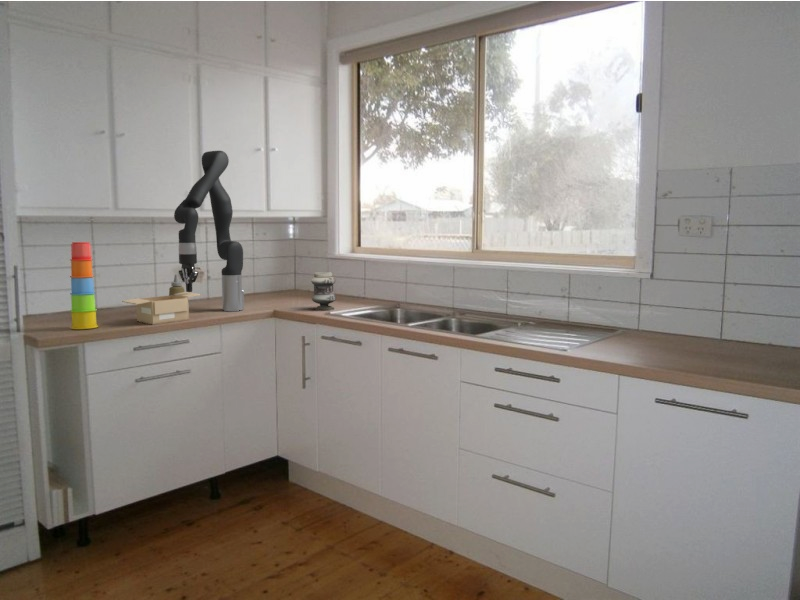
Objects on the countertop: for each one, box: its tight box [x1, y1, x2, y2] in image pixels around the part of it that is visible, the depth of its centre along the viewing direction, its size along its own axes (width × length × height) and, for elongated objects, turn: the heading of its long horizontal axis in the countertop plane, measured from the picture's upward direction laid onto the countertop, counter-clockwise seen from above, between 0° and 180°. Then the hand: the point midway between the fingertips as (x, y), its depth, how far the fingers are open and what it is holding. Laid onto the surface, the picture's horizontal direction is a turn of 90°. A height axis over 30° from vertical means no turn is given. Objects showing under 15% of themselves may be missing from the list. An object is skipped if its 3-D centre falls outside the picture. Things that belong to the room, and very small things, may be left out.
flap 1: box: [121, 298, 150, 305], centre depth 267 cm, size 1×12×6 cm
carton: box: [135, 295, 190, 326], centre depth 276 cm, size 17×15×10 cm
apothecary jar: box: [310, 271, 337, 311], centre depth 312 cm, size 12×12×18 cm
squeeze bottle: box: [168, 274, 186, 297], centre depth 299 cm, size 8×8×18 cm
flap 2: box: [174, 291, 201, 299], centre depth 284 cm, size 1×12×6 cm
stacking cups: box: [69, 241, 99, 330], centre depth 256 cm, size 10×10×35 cm
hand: (189, 291), depth 285 cm, fingers closed
